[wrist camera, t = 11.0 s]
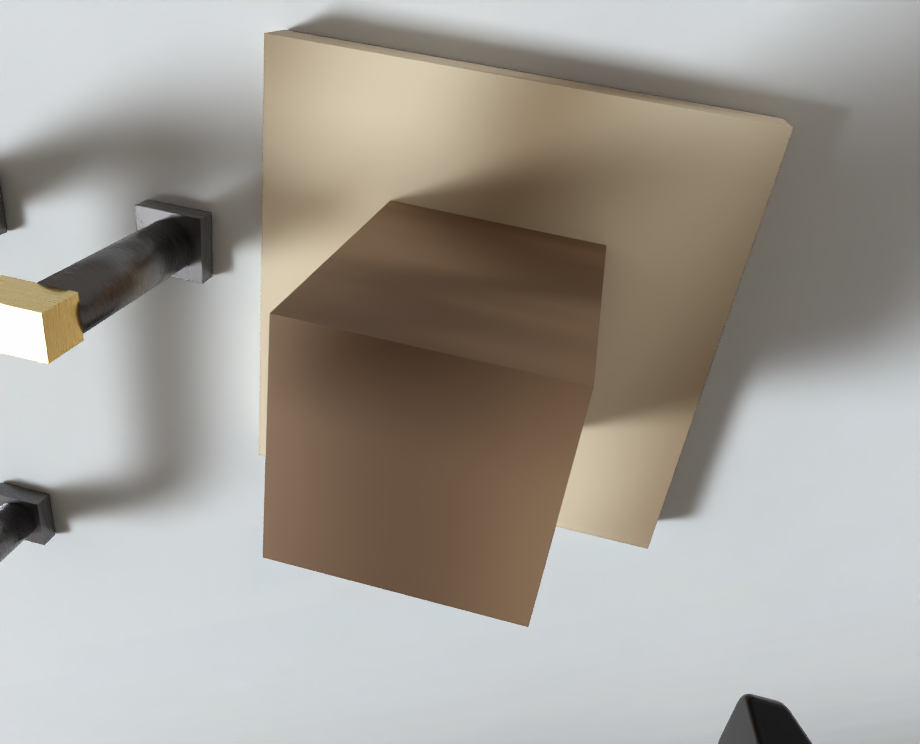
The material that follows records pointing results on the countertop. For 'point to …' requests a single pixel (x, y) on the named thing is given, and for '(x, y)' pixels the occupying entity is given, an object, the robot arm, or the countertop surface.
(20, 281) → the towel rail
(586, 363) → the walnut block
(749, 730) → the robot arm
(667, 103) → the birch pad
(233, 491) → the countertop surface
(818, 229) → the countertop surface
